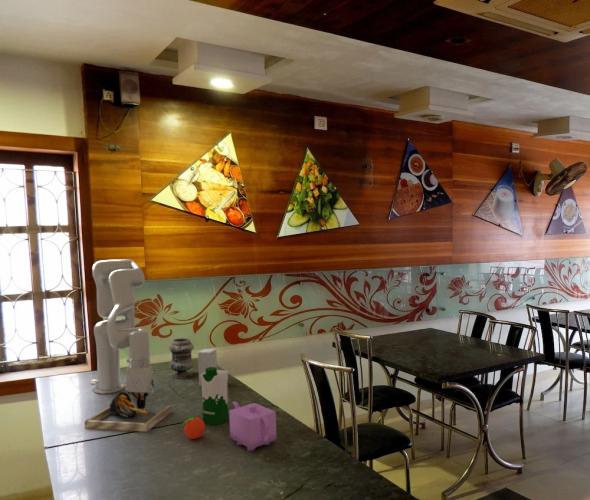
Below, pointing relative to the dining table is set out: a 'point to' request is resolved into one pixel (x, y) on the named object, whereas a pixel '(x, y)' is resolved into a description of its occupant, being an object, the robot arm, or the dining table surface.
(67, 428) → the dining table surface
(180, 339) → the apothecary jar
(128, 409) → the fried shrimp in bowl
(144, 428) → the serving frame
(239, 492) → the dining table surface
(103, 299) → the robot arm
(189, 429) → the clementine
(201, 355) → the skincare box
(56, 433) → the dining table surface
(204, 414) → the milk carton
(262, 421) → the teapot
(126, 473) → the dining table surface
